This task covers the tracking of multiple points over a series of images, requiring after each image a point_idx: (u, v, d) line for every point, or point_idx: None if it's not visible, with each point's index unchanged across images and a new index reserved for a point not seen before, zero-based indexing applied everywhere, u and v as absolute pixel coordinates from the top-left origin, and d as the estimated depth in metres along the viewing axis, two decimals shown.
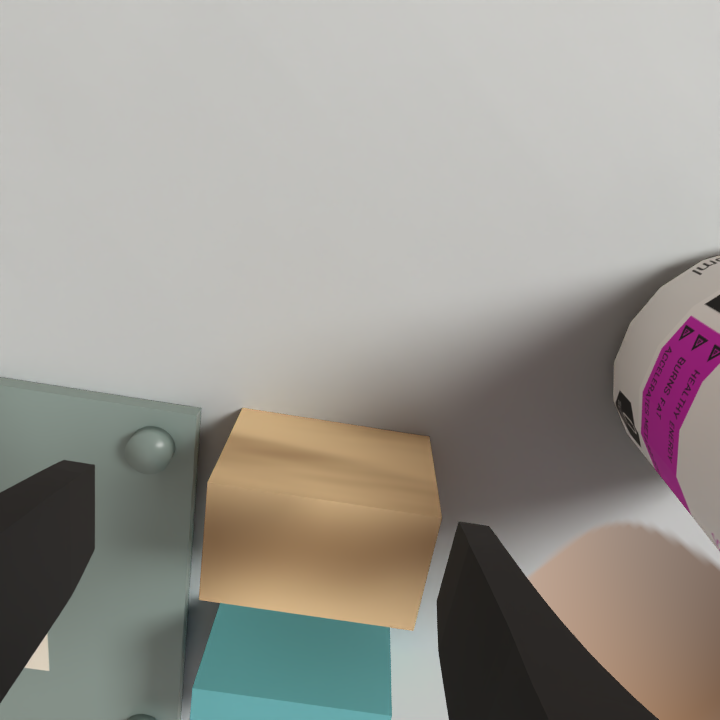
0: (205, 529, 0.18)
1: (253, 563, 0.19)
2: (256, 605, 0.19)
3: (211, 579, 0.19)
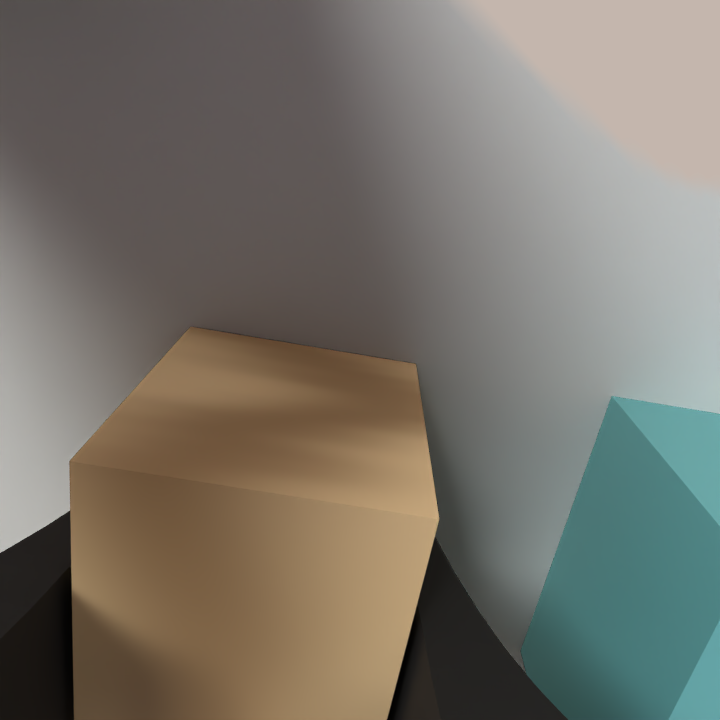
0: None
1: None
2: None
3: None
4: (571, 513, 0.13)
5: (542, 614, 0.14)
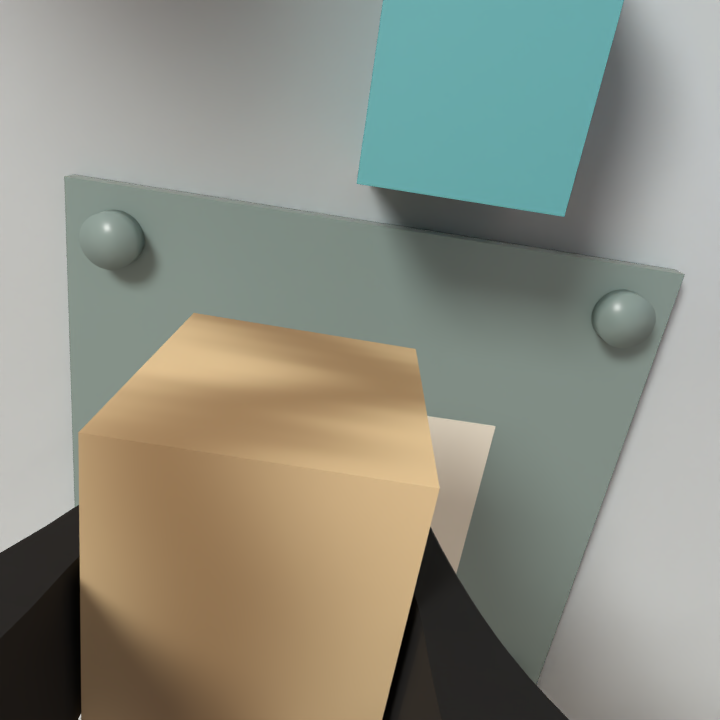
0: None
1: None
2: None
3: None
4: None
5: None
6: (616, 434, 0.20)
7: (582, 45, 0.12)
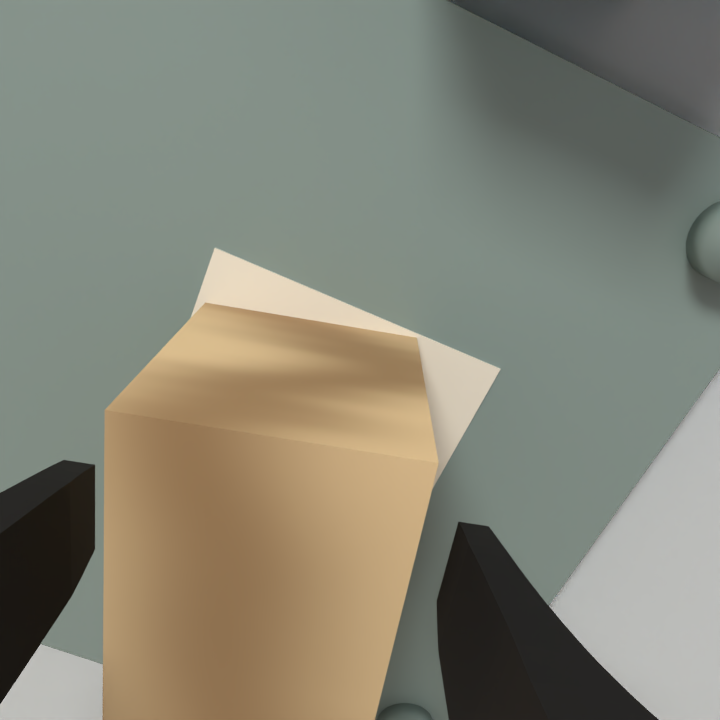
0: None
1: None
2: None
3: None
4: None
5: None
6: (663, 421, 0.13)
7: None
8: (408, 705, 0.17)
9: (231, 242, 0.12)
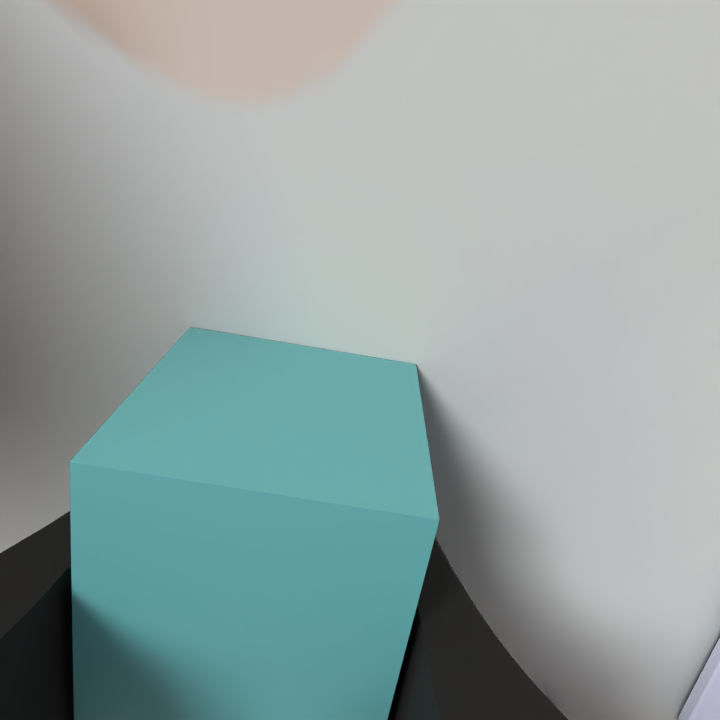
0: None
1: None
2: None
3: None
4: None
5: None
6: None
7: None
8: None
9: None
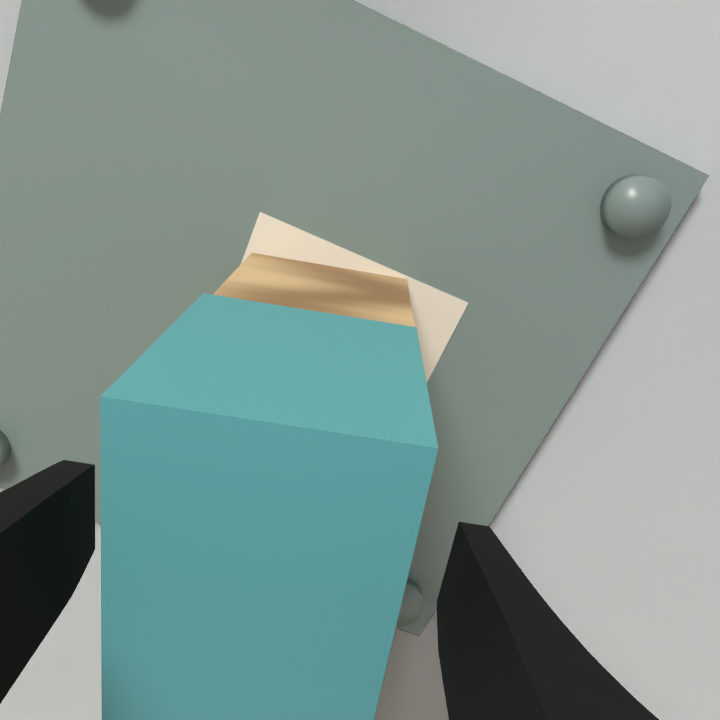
0: None
1: None
2: None
3: None
4: None
5: None
6: (590, 343, 0.18)
7: (354, 650, 0.09)
8: None
9: (272, 208, 0.17)
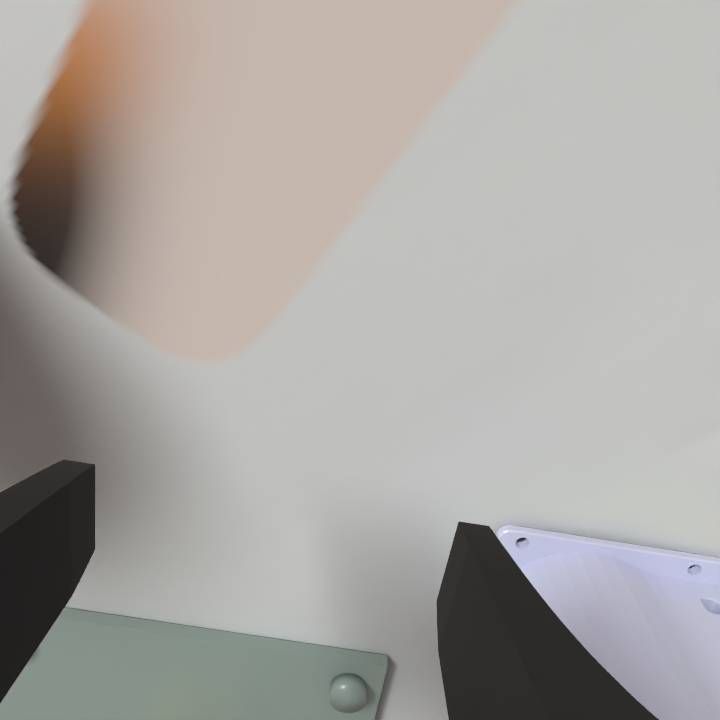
0: None
1: None
2: None
3: None
4: None
5: None
6: None
7: None
8: None
9: (144, 719, 0.28)
